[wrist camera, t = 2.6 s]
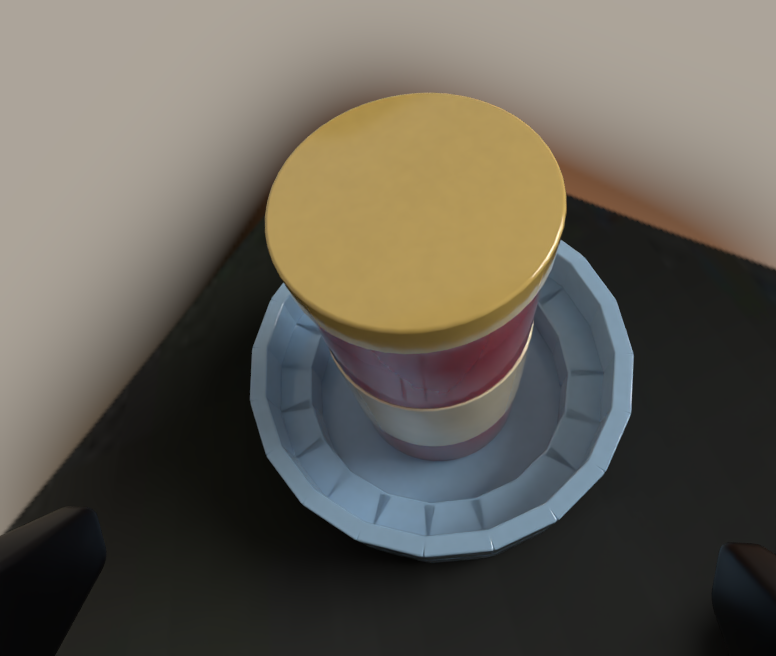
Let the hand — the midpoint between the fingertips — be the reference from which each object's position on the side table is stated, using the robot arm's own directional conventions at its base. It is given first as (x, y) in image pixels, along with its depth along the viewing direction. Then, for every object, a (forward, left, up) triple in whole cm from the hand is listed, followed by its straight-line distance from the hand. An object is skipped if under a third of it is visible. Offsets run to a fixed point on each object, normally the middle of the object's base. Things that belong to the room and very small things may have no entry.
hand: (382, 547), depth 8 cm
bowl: (+5, +5, -13) cm, 15 cm away
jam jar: (+5, +5, -12) cm, 14 cm away
